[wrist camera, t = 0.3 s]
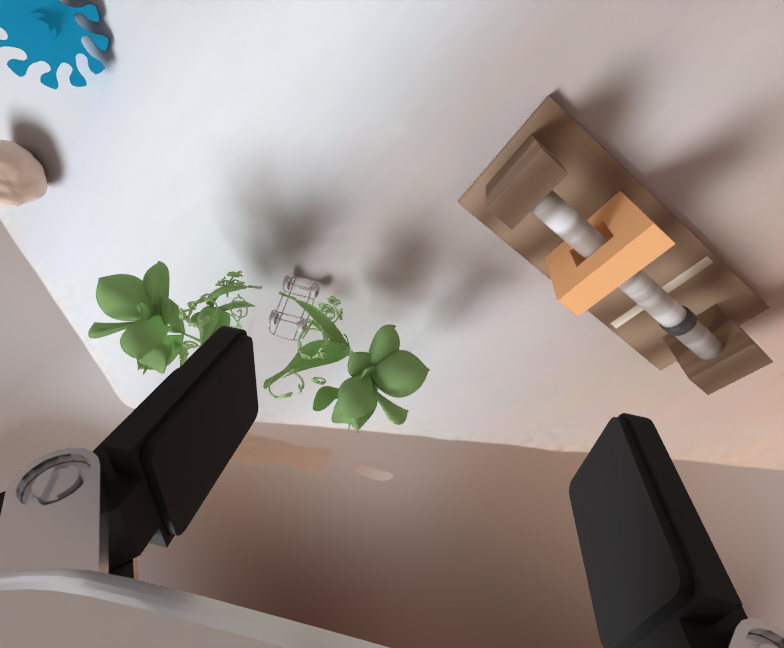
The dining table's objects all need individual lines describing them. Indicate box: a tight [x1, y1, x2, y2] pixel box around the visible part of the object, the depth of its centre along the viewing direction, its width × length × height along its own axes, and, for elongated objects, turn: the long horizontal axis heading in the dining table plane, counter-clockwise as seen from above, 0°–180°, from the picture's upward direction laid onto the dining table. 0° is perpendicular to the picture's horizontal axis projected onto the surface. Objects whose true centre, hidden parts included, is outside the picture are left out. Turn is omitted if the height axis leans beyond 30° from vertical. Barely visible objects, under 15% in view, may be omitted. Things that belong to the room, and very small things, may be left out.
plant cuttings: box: [89, 261, 429, 432], centre depth 48 cm, size 35×17×22 cm
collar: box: [545, 191, 675, 317], centre depth 36 cm, size 2×9×9 cm, turn 144°
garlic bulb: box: [0, 140, 47, 206], centre depth 46 cm, size 7×6×8 cm
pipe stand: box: [458, 96, 773, 395], centre depth 39 cm, size 32×12×8 cm, turn 54°
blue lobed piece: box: [0, 0, 109, 89], centre depth 37 cm, size 11×6×10 cm
